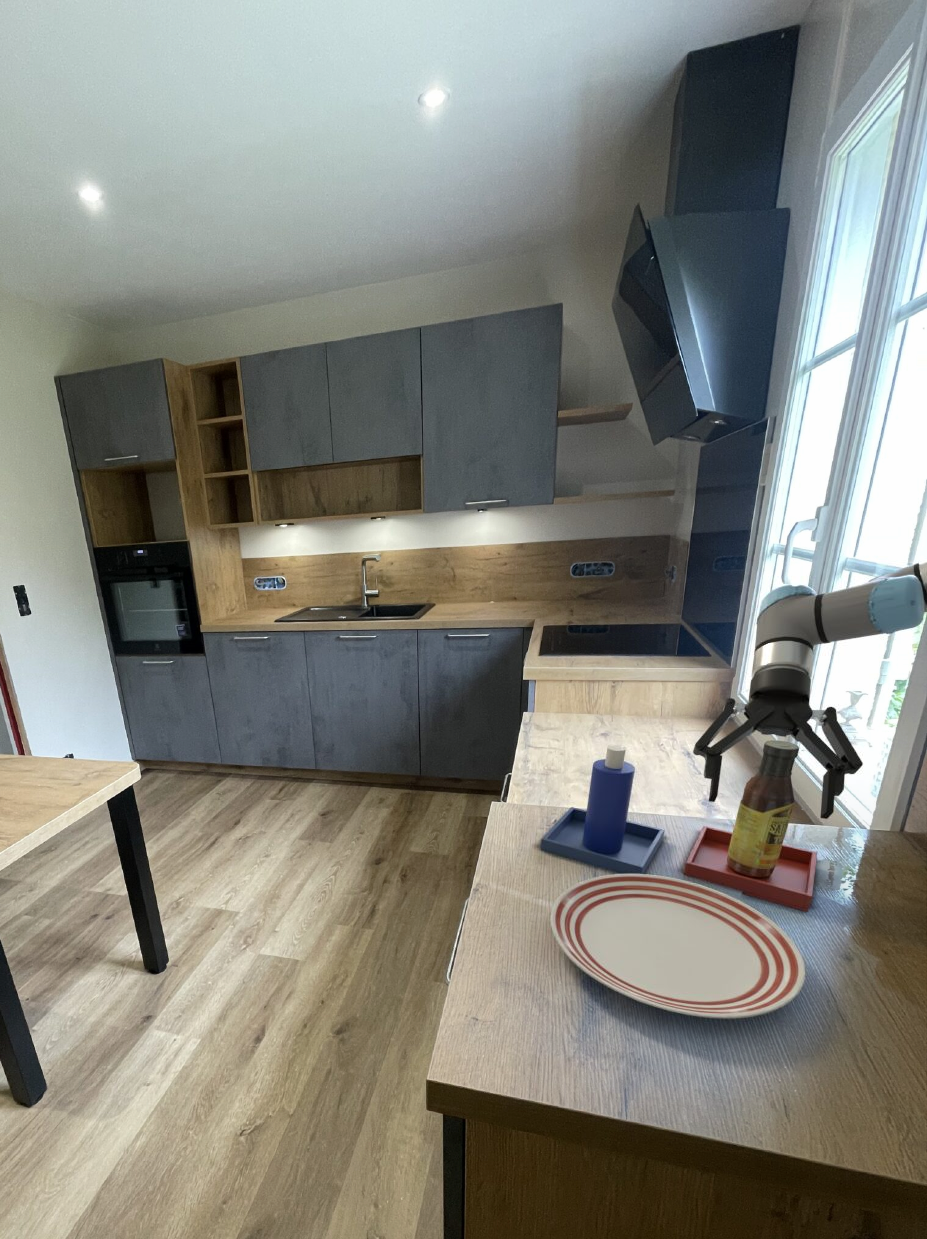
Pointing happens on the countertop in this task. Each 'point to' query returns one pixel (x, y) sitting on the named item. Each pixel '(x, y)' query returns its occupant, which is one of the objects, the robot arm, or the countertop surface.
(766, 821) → the sauce bottle
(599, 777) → the blue bottle
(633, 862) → the blue tray
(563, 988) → the countertop surface
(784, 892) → the red tray
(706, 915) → the dinner plate
